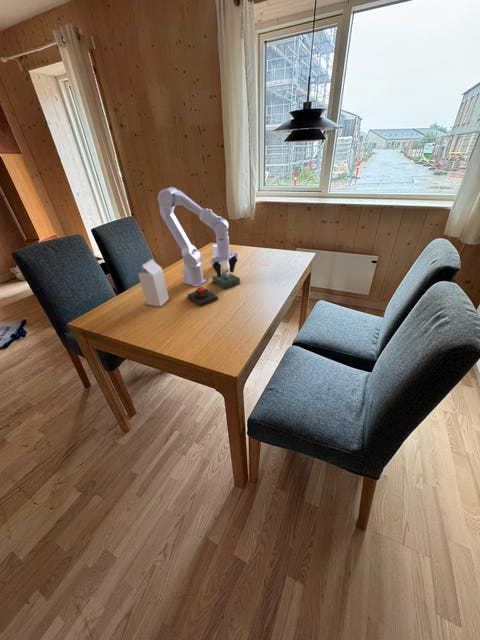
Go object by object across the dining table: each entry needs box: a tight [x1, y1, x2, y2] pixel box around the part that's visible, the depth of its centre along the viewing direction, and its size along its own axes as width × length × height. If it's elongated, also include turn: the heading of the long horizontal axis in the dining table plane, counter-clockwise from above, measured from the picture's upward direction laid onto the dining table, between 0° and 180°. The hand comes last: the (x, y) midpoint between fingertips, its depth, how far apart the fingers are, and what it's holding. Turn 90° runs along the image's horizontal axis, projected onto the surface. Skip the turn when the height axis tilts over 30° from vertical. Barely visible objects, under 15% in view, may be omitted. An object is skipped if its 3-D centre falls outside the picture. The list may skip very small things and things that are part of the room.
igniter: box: [187, 288, 218, 307], centre depth 118 cm, size 11×9×4 cm
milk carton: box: [137, 258, 170, 307], centre depth 114 cm, size 7×7×19 cm
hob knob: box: [221, 269, 230, 279], centre depth 129 cm, size 5×2×4 cm, turn 37°
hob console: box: [211, 272, 241, 290], centre depth 131 cm, size 11×9×3 cm
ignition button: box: [196, 286, 206, 294], centre depth 117 cm, size 4×4×2 cm
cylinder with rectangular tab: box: [211, 244, 230, 270], centre depth 146 cm, size 9×9×12 cm
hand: (225, 274), depth 130 cm, fingers open, 7 cm apart
